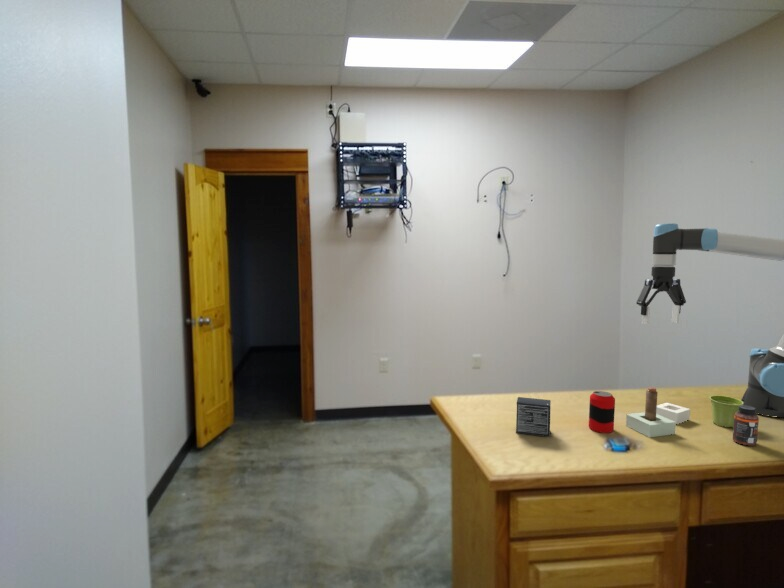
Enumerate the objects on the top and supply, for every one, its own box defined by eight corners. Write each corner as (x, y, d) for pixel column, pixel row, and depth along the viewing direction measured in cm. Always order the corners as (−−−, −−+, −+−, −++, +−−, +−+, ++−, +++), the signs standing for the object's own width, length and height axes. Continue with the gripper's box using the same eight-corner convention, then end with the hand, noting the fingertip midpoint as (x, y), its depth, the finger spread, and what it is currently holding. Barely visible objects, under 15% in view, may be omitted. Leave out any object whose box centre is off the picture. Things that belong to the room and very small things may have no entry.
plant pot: (743, 424, 158) (745, 399, 157) (739, 432, 151) (741, 406, 150) (710, 417, 164) (712, 393, 163) (705, 424, 157) (707, 400, 157)
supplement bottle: (757, 448, 139) (760, 411, 138) (733, 444, 142) (736, 408, 141) (755, 441, 144) (758, 406, 143) (731, 437, 147) (734, 402, 146)
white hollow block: (666, 413, 168) (666, 402, 168) (689, 420, 162) (690, 409, 161) (653, 417, 164) (654, 406, 164) (676, 424, 157) (677, 413, 157)
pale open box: (650, 422, 159) (650, 411, 159) (674, 434, 150) (675, 422, 149) (625, 425, 157) (626, 414, 156) (649, 437, 147) (650, 425, 147)
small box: (550, 430, 153) (551, 399, 152) (549, 437, 147) (551, 405, 146) (517, 426, 157) (517, 395, 156) (515, 433, 151) (516, 401, 149)
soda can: (594, 422, 159) (595, 388, 158) (617, 428, 154) (618, 393, 153) (584, 428, 154) (586, 393, 153) (608, 435, 149) (610, 399, 148)
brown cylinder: (649, 427, 155) (652, 386, 154) (657, 431, 152) (660, 389, 151) (641, 428, 154) (644, 387, 153) (649, 432, 151) (651, 390, 150)
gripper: (681, 265, 177) (678, 320, 179) (627, 266, 171) (624, 323, 173) (699, 266, 170) (695, 323, 172) (643, 266, 163) (640, 326, 166)
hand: (660, 323), depth 172 cm, fingers open, 13 cm apart
